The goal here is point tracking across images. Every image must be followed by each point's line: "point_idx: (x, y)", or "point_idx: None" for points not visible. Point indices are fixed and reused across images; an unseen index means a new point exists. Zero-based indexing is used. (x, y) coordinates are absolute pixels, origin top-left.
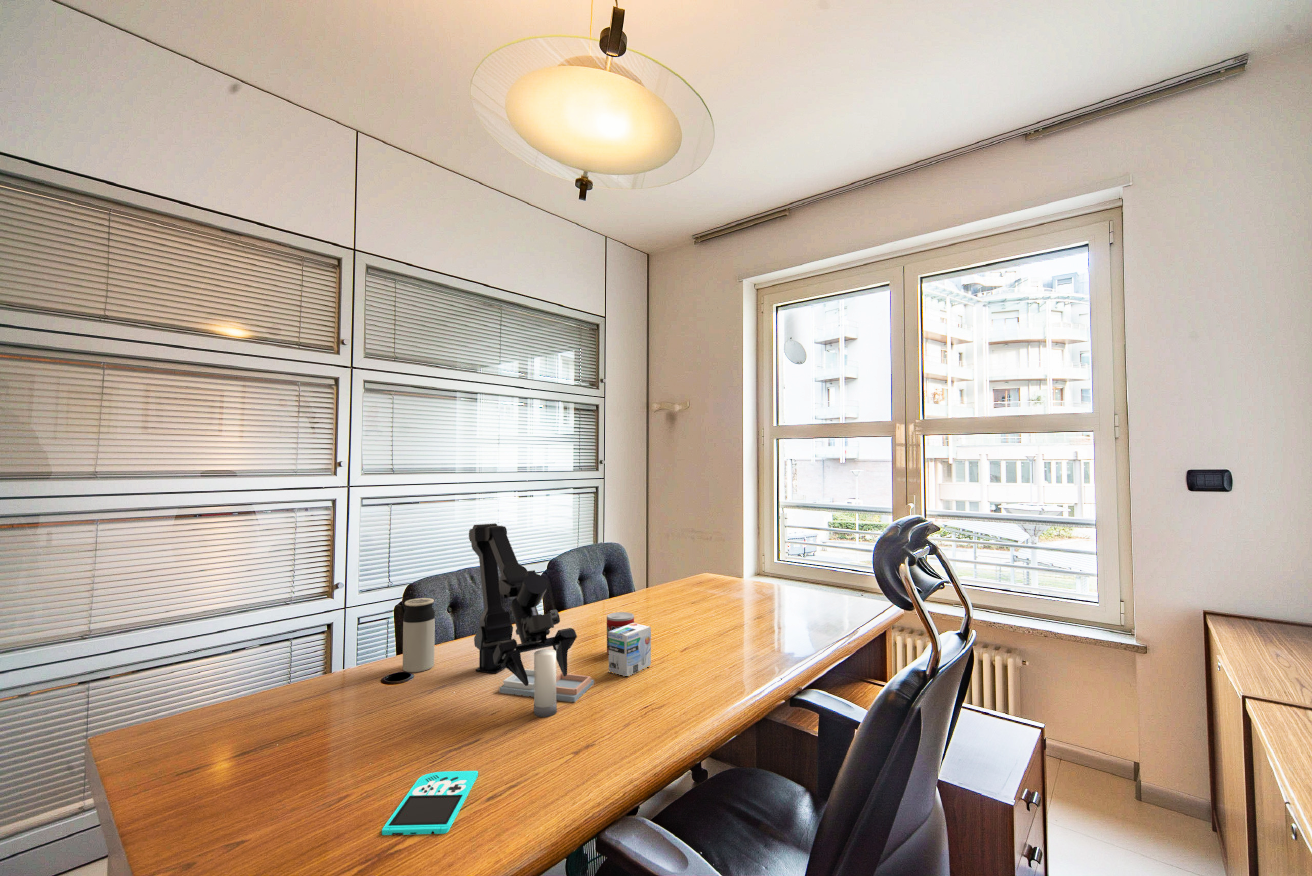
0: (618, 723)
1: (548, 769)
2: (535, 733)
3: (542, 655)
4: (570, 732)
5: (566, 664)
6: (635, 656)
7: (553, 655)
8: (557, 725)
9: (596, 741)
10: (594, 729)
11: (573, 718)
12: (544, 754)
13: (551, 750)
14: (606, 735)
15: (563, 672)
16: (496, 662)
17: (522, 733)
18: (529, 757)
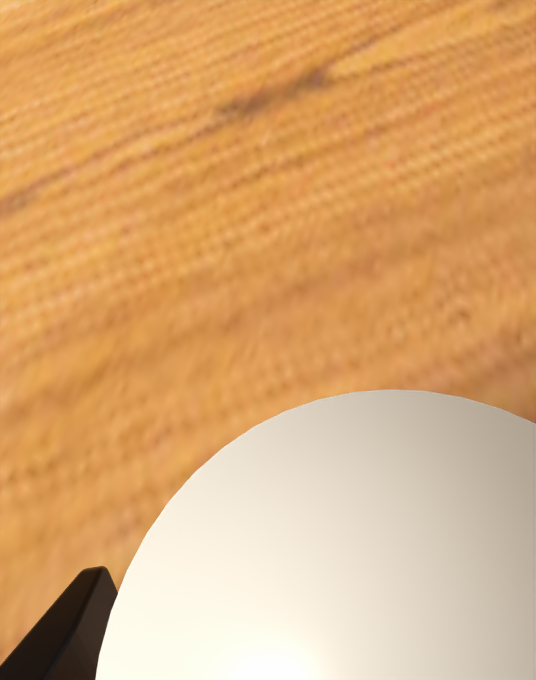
0: (36, 230)
1: (451, 15)
2: (453, 306)
3: (531, 491)
4: (278, 241)
5: (8, 666)
6: None
7: (249, 433)
8: (316, 342)
9: (203, 125)
10: (162, 222)
11: (206, 383)
12: (445, 110)
13: (409, 127)
14: (142, 153)
15: (105, 630)
16: None
17: (525, 337)
18: (514, 111)
